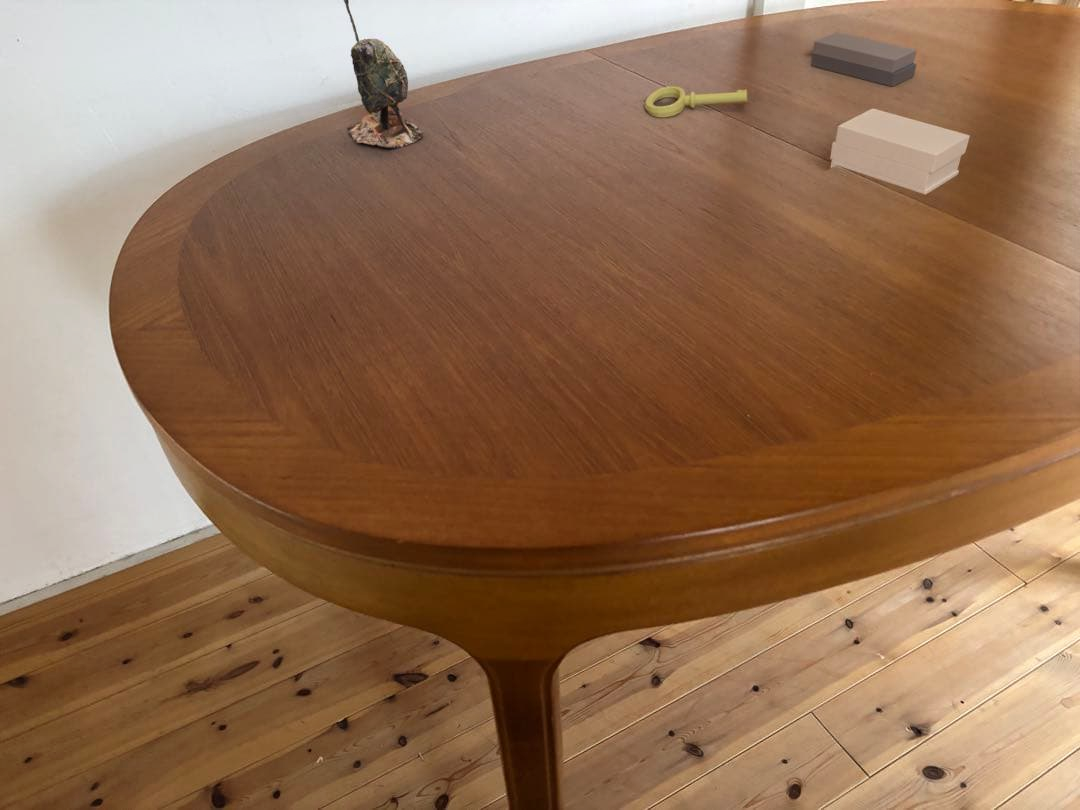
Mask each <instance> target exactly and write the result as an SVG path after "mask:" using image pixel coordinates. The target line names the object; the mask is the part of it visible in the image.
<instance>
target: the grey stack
mask: <svg viewBox="0 0 1080 810" xmlns="http://www.w3.org/2000/svg"><path fill="white" fill-rule="evenodd" d="M916 54H917V49H913V48H908V47H904V46H900V45H896V44H891V43H887V42H882V41H877V40H874V39H870V38H865V37H860V36H855V35H851V34H848V33H842V32H839V31H836V32H833V33H831V34H829V35H826V36H823V37H821V38H818V39H817V40H814V43H813V49H812V56H811V63H810V66H811V67H815V68H818V69H822V70H826V71H829V72H834V73H837V74H842V75H845V76H849V77H853V78H856V79H862V80H865V81H869V82H872V83H876V84H880V85H883V86H887V87H895V86H897V85H899V84H901V83H903V82H905V81H907V80H910V79H911V78H913V77H915V73H916V69H917V63H915V59H916Z"/></svg>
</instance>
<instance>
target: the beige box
mask: <svg viewBox="0 0 1080 810" xmlns="http://www.w3.org/2000/svg"><path fill="white" fill-rule="evenodd" d="M836 130H837V131H836V137H835V140H834V141H833V142H832V145H831V149H830V155H829V160H831V162H830V166H829V167H830V168H829V169H832V168H834V167H836V166H838V167H841V168H844V169H847V170H849V171H853V172H856V173H859V174H862V175H865V176H868V177H871V178H874V179H877V180H880V181H883V182H886V183H889V184H892V185H895V186H898V187H902V188H904V189H908V190H910V191H912V192H913V191H914V192H917V193H919V194H922V195H927V194H929V193H930V192H932V191H934V190H935V189H937V188H938V187H940V186H942V185H944V184H945V183H947V182H948V181H950V180H951V179H953V178H954V177H956V176H958V175H959V174H960V173H959V172H960V170H959V165H960V161H961V158H962V155H964V154H966V151H967V149H968V148H967V147H968V145H969V140H970V137H971V135H970V134H966V133H963V132H960V131H956V130H952V129H947V128H945V127H941V126H939V125H938V126H937V125H934V124H930V123H927V122H923V121H920V120H916V119H912V118H909V117H905V116H901V115H898V114H894V113H891V112H887V111H884V110H880V109H877V108H871V109H869V110H866V111H865V112H863V113H861V114H859V115H857V116H855V117H853V118H851V119H849V120H846V121H845V122H843V123H841V124H839V125H838V126H837V129H836Z"/></svg>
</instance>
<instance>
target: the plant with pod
mask: <svg viewBox="0 0 1080 810" xmlns="http://www.w3.org/2000/svg"><path fill="white" fill-rule="evenodd" d="M343 2H344V4H345V8H346V12H347V14H348V15H349V19H350V23H351V26H352V30H353V33H354V37H355V41H356V43H355V44H354V45H353V46H352V47H351V49H350V57H351V61H352V63H351V64H352V66H353V72H354V75H355V77H356V82H357V91H358V93H359V95H360V97H361V98H360V100H361V103H362V105H363V106H364V108H365V110H366V111H367V113H368V114H366V115H365V116H363V117H362V119H361V121H360V122H358V123H356V124H354V125H350V126H348V127H347V128H346V130H347V131H348V133H349V134H350V136H351V137H352V138H353V139H352V140H353V141H355V143H356V144H364V145H365V144H366V145H371V146H378V147H381V148H386V149H398V148H403V147H404V145H405V146H408V145H411V144H412V143H414V144H415V142H418V141H419V140H421V137H423V136H424V132H423V131H422V130H420V128H419V127H418V126H417V125H416V123H412V122H408V120H407V119H406V120H405V119H404V114H403V113H402V112H401V111H400V110H401V109H400V108H399V107H398V105H399V103H403V102H404V101H405V100H406V99H408V98H407V97H408V93H409V92H408V91H409V81H408V80H409V79H408V74H407V70H406V69H405V66H404V64H403V63H402V61H401V59H400V58H399V57H397V56H396V55H395V53H394V52H393V51H392V49H391V48H390V46H389V45H387V44H386V43H384V41H382V40H380V39H378V38H367V39H366V38H364V39H361V40H360V39H359V35H358V32H357V28H356V25H355V21H354V17H353V15H352V13H351V9H350V6H349V0H343Z"/></svg>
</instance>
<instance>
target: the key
mask: <svg viewBox="0 0 1080 810" xmlns="http://www.w3.org/2000/svg"><path fill="white" fill-rule="evenodd" d="M666 98H674V99H677V100H676V101H675V102H673V103H671V104H668V105H663V106H662V105H661V106H660V105H659V106H657V105H655V102H657V101H658V100H661V99H666ZM747 102H748V89H747V88H745V89H737V90H736V92H720V93H702V94H701V93H699V94H696V92H695V91H691V92H690V93H689V94H686V91H685V89H683V87H680V86H676V85H675V86H673V85H672V86H664V87H661V88H658V89H656V90H654V91H653V92H652V93H650V94H649V95H648V97H647V98H646V100H645V103H644V108H645V110H646V112H647V113H648V114H649V115H650V116H652V117H655V118H670V117H674V116H676V115H678V114H679V113H681V112H682V111H683V110H684V109H685V107H686V106H687V107H688V106H689V107H690V108H691V109H695V108H696V106H704V105H705V106H706V105H707V106H708V105H725V104H737V103H738V104H739V103H747Z"/></svg>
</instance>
